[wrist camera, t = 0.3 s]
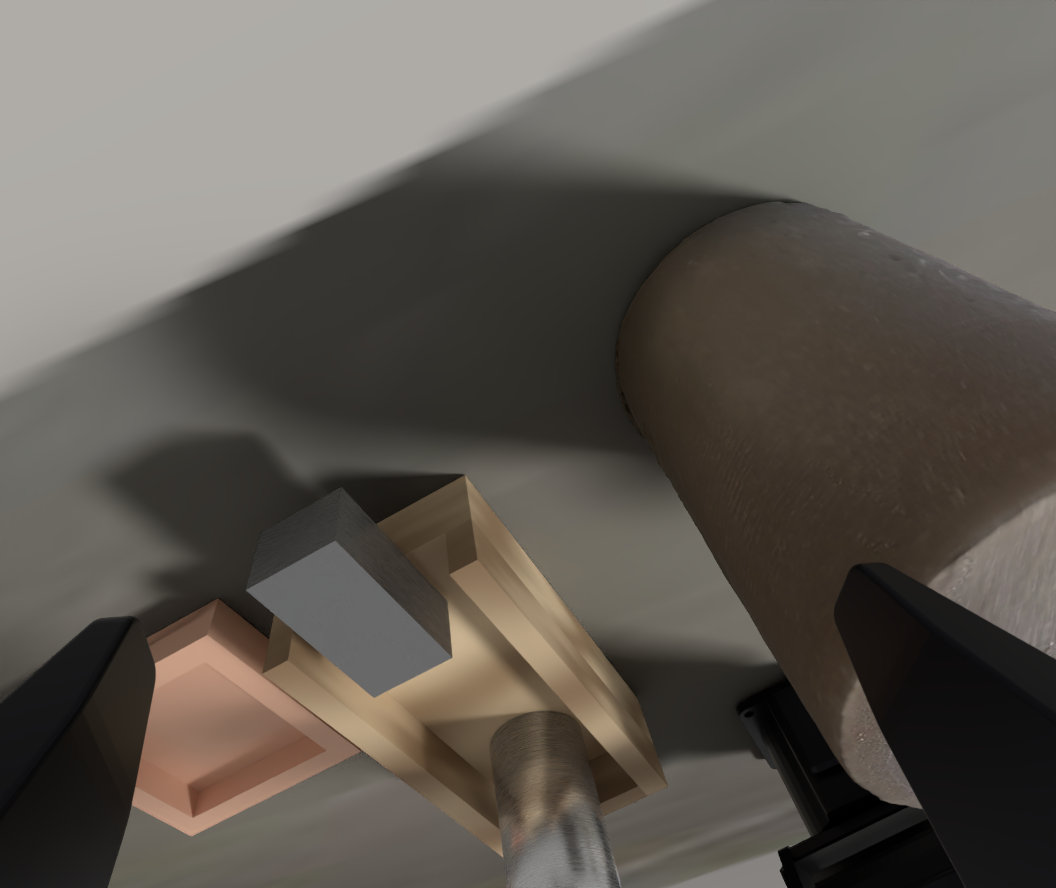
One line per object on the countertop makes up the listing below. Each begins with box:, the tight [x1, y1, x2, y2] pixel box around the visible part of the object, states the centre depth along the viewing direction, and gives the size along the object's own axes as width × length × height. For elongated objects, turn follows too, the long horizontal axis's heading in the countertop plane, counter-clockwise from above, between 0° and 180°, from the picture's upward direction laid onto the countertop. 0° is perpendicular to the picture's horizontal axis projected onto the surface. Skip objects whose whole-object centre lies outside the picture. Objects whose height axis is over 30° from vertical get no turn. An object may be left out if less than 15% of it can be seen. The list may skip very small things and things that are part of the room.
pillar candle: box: [615, 201, 1056, 809], centre depth 17 cm, size 10×10×15 cm
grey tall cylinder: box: [489, 710, 621, 888], centre depth 26 cm, size 4×4×9 cm
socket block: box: [262, 475, 668, 857], centre depth 27 cm, size 16×8×4 cm, turn 28°
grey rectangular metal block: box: [246, 487, 453, 698], centre depth 21 cm, size 6×3×2 cm, turn 28°
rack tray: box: [132, 598, 361, 836], centre depth 28 cm, size 9×9×2 cm
